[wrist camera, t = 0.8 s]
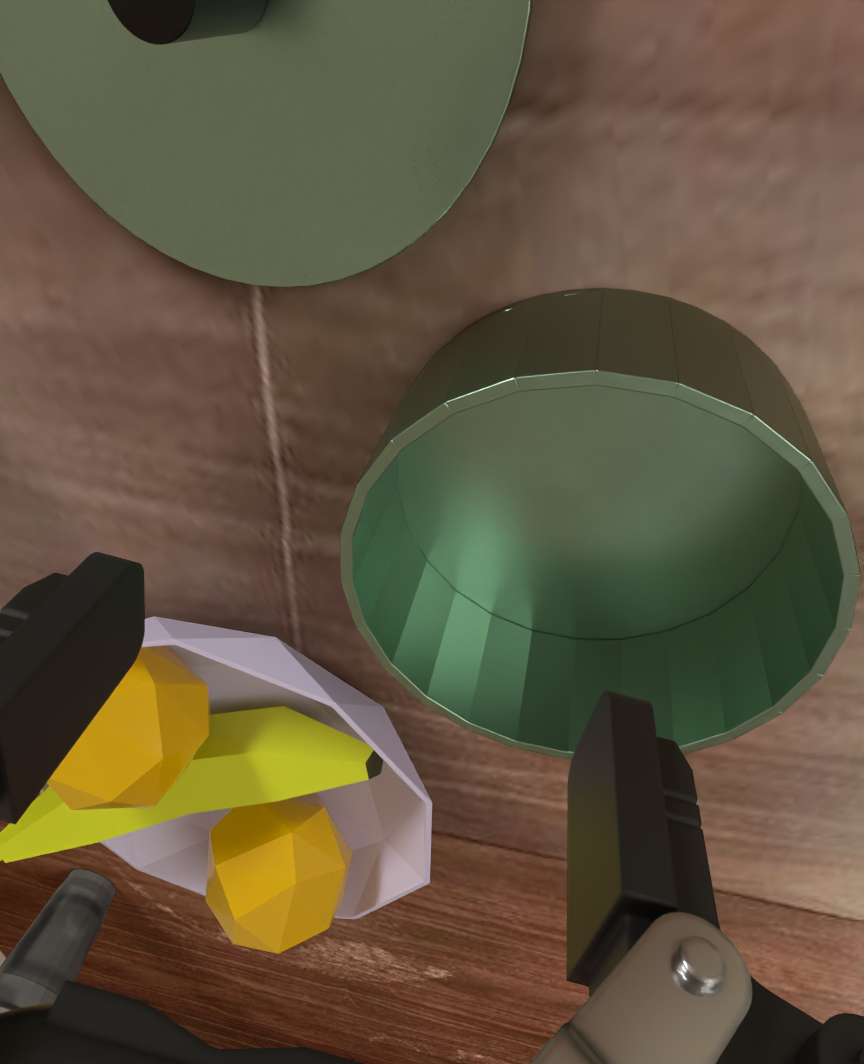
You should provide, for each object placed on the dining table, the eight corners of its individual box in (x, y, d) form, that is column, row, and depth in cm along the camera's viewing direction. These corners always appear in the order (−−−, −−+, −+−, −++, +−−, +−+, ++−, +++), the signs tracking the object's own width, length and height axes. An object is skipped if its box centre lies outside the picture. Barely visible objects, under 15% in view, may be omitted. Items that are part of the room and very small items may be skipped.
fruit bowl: (458, 600, 38) (407, 788, 29) (444, 872, 54) (408, 1046, 46) (-21, 526, 42) (-192, 670, 33) (99, 798, 59) (6, 944, 50)
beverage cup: (114, 867, 66) (-46, 1144, 50) (139, 909, 70) (0, 1176, 54) (44, 855, 67) (-133, 1120, 52) (73, 896, 72) (-82, 1152, 56)
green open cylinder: (757, 206, 25) (798, 277, 19) (847, 598, 33) (894, 732, 27) (319, 380, 32) (250, 470, 26) (483, 664, 40) (459, 781, 35)
